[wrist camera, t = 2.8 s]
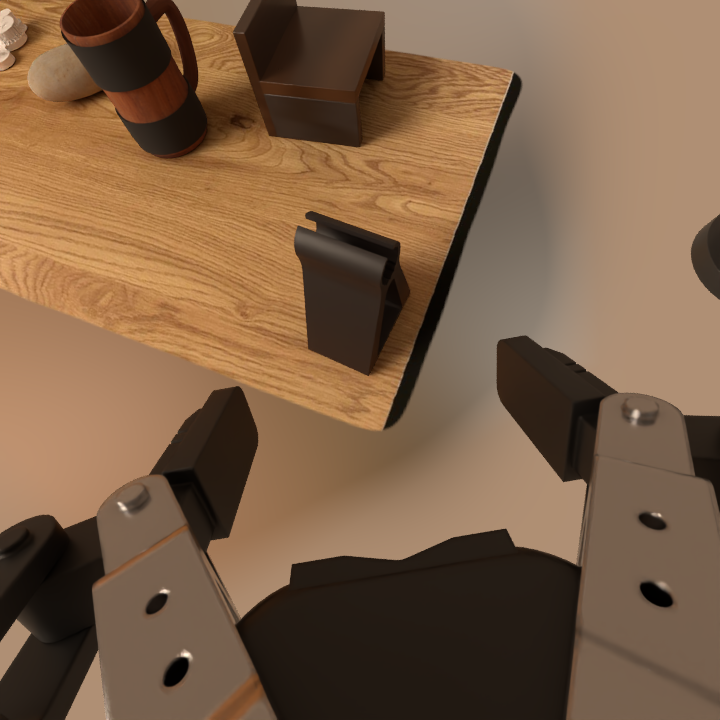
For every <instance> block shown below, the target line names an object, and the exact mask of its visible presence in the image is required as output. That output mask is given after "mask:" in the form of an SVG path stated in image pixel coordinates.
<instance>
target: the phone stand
mask: <svg viewBox="0 0 720 720" xmlns="http://www.w3.org/2000/svg"><path fill="white" fill-rule="evenodd" d="M305 216H306V219H309V220H312V221H315V222H316V225H317V230H316V232H314V231H312V230H309V229H306V228H303V227H301V226H298V227H297V230H296V234H295V240H294V248H295V252H296V255H297V256H298V258H299V259H300V262H301V265H302V270H303V282H304V296H305V310H306V323H307V337H308V349H310V350H312V351H314V352H316V353H319V354H321V355H323V356H325V357H328V358H330V359H332V360H334V361H336V362H339V363H341V364H343V365H345V366H348V367H350V368H352V369H354V370H356V371H359V372H361V373H363V374H365V375H368V376H369V375H370V373H371V371H372V369H373V367H374V365H375V363H376V361H377V359H378V357H379V355H380V353H381V351H382V349H383V347H384V345H385V343H386V341H387V339H388V337H389V334H390V332H391V331H392V329H393V327H394V325H395V323H396V321H397V319H398V316H399V314H400V312H401V310H402V308H403V306H404V304H405V302H406V300H407V298H408V296H409V294H410V288H409V286H408V284H407V281H406V279H405V276H404V274H403V271H402V269H401V266H400V263H399V255H400V242H398V241H395V240H392V239H390V238H387V237H384V236H381V235H378V234H375V233H373V232H370V231H367V230H364V229H361V228H358V227H356V226H353V225H350V224H347V223H344V222H341V221H339V220H336V219H333V218H330V217H327V216H324V215H322V214H319V213H316V212H313V211H310V212H307V213H306V214H305Z"/></svg>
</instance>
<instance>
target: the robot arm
mask: <svg viewBox="0 0 720 720" xmlns="http://www.w3.org/2000/svg"><path fill="white" fill-rule="evenodd" d="M497 390H498V395H499V398H500V400H501V402H502V404H503V405H504V406H505V408H506V409H507V411H508V412H509V413H510V414H511V416H512V417H513V418H514V419H515V421H516V422H517V423H518V425H519V426H520V427H521V428H522V430H523V431H524V432H525V434H526V435H527V436H528V437H529V439H530V440H531V441H532V443H533V444H534V445H535V446H536V448H537V449H538V450H539V452H540V453H541V454H542V455H543V457H544V458H545V459H546V460H547V462H548V463H549V464H550V466H551V467H552V468H553V469H554V471H555V472H556V473H557V475H558V476H559V477H560V478H561V479H562V481H563V482H567V481H572V480H578V479H583V480H584V481H585V482H586V483H587V488H586V494H585V502H584V510H583V517H582V525H581V533H580V541H579V548H578V556H577V563H576V565H575V564H573V563H571V562H569V561H567V560H565V559H562V558H560V557H557V556H555V555H552V554H549V553H545V552H542V551H538V550H534V549H529V548H524V547H515V546H514V543H513V541H512V539H511V537H510V536H509V533H508V531H507V529H501V530H495V531H489V532H483V533H477V534H471V535H465V536H459V537H453V538H451V539H448V540H446V541H444V542H442V543H440V544H437V545H435V546H433V547H431V548H428V549H426V550H424V551H421V552H419V553H417V554H415V555H413V556H410V557H408V558H406V559H403V560H387V559H376V558H375V559H374V558H364V557H353V556H340V557H334V558H327V559H321V560H315V561H309V562H303V563H297V564H292V568H291V577H290V584H289V585H286V586H284V587H282V588H280V589H279V590H277V591H275V592H274V593H272V594H270V595H269V596H268V597H266V598H265V599H263V600H262V601H261V602H259V603H258V604H257V605H256V606H254V607H253V608H252V609H251V610H250V611H249V612H248V613H247V614H246V615H245V616H244V617H243V618H242V619H241V617H240V615H239V614H238V612H237V610H236V608H235V606H234V604H233V602H232V600H231V598H230V596H229V594H228V592H227V590H226V588H225V586H224V584H223V582H222V580H221V578H220V576H219V574H218V572H217V570H216V568H215V566H214V564H213V562H212V560H211V558H210V556H209V554H208V552H207V548H208V546H209V543H210V540H216V539H222V538H228V537H229V535H230V532H231V529H232V525H233V522H234V519H235V516H236V513H237V510H238V506H239V503H240V500H241V497H242V494H243V491H244V487H245V484H246V481H247V478H248V475H249V472H250V469H251V465H252V462H253V459H254V456H255V453H256V450H257V446H258V432H257V428H256V425H255V422H254V419H253V416H252V414H251V411H250V408H249V406H248V403H247V400H246V398H245V395H244V393H243V391H242V389H241V388H240V387H239V386H236V387H231V388H225V389H220V390H214V391H213V392H212V393H211V395H210V396H209V398H208V400H207V401H206V403H205V404H204V406H203V408H202V409H198V410H197V411H196V412H195V413H194V414H192V415H191V416H190V417H189V418H188V419H186V420H185V422H184V423H183V425H182V426H181V428H180V429H179V431H178V434H176V435H175V437H174V438H173V440H172V441H171V444H169V446H168V447H167V448H166V450H165V452H164V453H163V454H162V456H161V457H160V459H159V460H158V462H157V464H156V465H155V466H154V468H153V469H152V471H151V473H150V474H149V475H147V476H143V477H140V478H137V479H135V480H133V481H131V482H129V483H127V484H125V485H123V486H122V487H121V488H119V489H118V490H116V491H115V492H114V493H112V494H111V495H110V496H109V497H108V498H107V499H106V500H105V501H104V503H103V504H102V505H101V507H100V508H99V510H98V513H97V516H95V517H93V518H90V519H88V520H85V521H83V522H80V523H78V524H75V525H72V526H70V527H67V528H65V529H63V528H62V527H61V525H60V524H59V523H58V522H57V520H56V519H55V518H54V517H53V516H50V515H39V516H35V517H32V518H29V519H26V520H24V521H22V522H20V523H18V524H16V525H14V526H12V527H10V528H9V529H7V530H5V531H4V532H2V533H1V534H0V641H1V640H2V639H3V637H4V636H5V634H6V633H7V631H8V630H9V629H10V627H11V626H12V624H13V623H14V622H15V620H16V619H17V620H18V621H19V622H20V623H21V624H22V625H24V626H25V627H26V628H27V629H28V630H29V631H30V632H31V635H30V636H29V638H28V639H27V641H26V642H25V644H24V645H23V647H22V648H21V650H20V652H19V653H18V655H17V656H16V658H15V659H14V661H13V662H12V664H11V665H10V667H9V668H8V670H7V671H6V673H5V675H4V676H3V678H2V679H1V681H0V720H65V718H66V716H67V714H68V712H69V710H70V708H71V706H72V703H73V701H74V699H75V697H76V695H77V693H78V691H79V689H80V686H81V684H82V682H83V680H84V678H85V676H86V674H87V672H88V670H89V668H90V666H91V664H92V662H93V660H94V657H95V655H96V653H97V651H98V649H99V658H100V668H101V677H102V685H103V695H104V704H105V713H106V720H720V416H690V415H688V416H687V415H683V414H682V413H681V411H680V410H679V409H678V408H676V407H675V406H673V405H672V404H670V403H668V402H666V401H664V400H662V399H659V398H656V397H653V396H649V395H644V394H638V393H637V394H636V393H618V392H617V391H615V390H614V389H613V388H611V387H610V386H608V385H607V384H606V383H604V382H603V381H601V380H600V379H599V378H597V377H596V376H594V375H593V374H592V373H590V372H586V369H584V368H583V367H582V366H580V365H579V364H576V362H575V361H573V360H572V359H570V358H569V357H567V356H566V355H565V354H563V353H560V352H557V351H554V350H552V349H549V348H542V347H541V346H540V345H538V344H537V343H536V342H534V341H533V340H531V339H530V338H529V337H527V336H519V337H513V338H508V339H502V340H500V341H499V342H498V344H497Z"/></svg>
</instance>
